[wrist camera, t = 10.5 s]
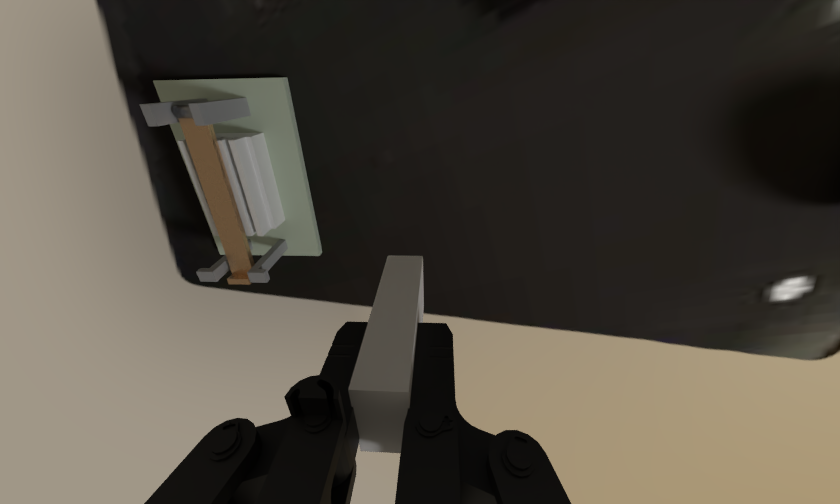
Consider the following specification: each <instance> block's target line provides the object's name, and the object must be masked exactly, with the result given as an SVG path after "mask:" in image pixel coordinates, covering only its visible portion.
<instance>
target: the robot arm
mask: <svg viewBox="0 0 840 504" xmlns="http://www.w3.org/2000/svg"><path fill="white" fill-rule="evenodd" d="M423 309H424V294H423V256H388V257H387V261H386V264H385V267H384V271H383V274H382V277H381V281H380V284H379V287H378V291H377V294H376V298H375V301H374V304H373V308H372V311H371V314H370V318H369V321H368V322H346V323H345V324H344V325H343V326H342V327H341V328H340V329H339V331H338V332H337V333H336V336H335V339H334V341H333V343H332V346H331V348H330V351H329V353H328V357H327V358H326V361H325V363H324V365H323V368H322V371H321V373H320V375H317V376H310V377H307V378H305V379H303V380H300V381H299V382H298V383H296V384H295V385H294V386H293V387H291V389H290V390H289V392H288V393H287V394H286V395H285V400H286V402H287V405H288V408H289V410H290V414H291V416H290V417H288V418H285V419H283V420H280V421H277V422H273V423H269V424H265V425H262V426H258V427H255V425H254V424H253V423H252V422H251V421H249V420H248V419H242V418H236V419H232V420H228V421H225V422H224V423H222V424H220V425H218V426H216V427H215V428H213V429H212V430H211V431H210V432H209V433H208V434H207V435H206V436H204V438H203V439H202V440H201V441H200V442H199V443H198V444H197V445H196V446H195V448H194V449H193V450H192V451H191V452H190V453H189V454H188V455H187V457H186V458H185V459H184V460H183V461H182V462H181V463H180V464H179V465H178V467H177V468H176V469H175V470H174V471H173V472H172V473H171V474H170V476H169V477H168V478H167V479H166V480H165V481H164V483H162V484H161V486H160V487H159V488H158V489H157V490H156V491H155V492H154V493H153V495H152V496H151V497H150V498H149V499H148V500H147V501H146V502H145V503H144V504H350V501H351V496H352V491H353V486H354V482H355V477H356V461H355V457H356V453H357V448H358V444H359V445H360V449H361V451H370V452H390V453H401V456H400V465H399V473H398V482H397V491H396V500H395V504H571V502H570V500H569V499H568V497H567V494H566V492H565V490H564V489H563V486H562V484H561V482H560V480H559V479H558V476H557V475H556V472H555V471H554V469H553V467H552V465H551V463H550V461H549V459H548V457H547V455H546V453H545V451H544V450H543V449H542V447H541V446H540V444H539V443H538V442H537V441H536V440H534V439H533V438H532V437H531V436H529V435H528V434H525V433H523V432H520V431H517V430H505V431H503V432H501V433H499V434H497V435H496V436H495V435H493V434H490V433H488V432H485V431H482V430H480V429H478V428H476V427H474V426H472V425H470V424H469V423H468V422H467V421H466V420H464V418H463V417H462V416H461V414H460V413H459V411H458V409H457V406H456V401H455V383H454V382H455V381H454V356H453V334H452V332H451V331H450V329H449V327H448V326H447V324H446V323H422V322H423Z"/></svg>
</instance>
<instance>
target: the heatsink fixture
mask: <svg viewBox="0 0 840 504" xmlns="http://www.w3.org/2000/svg"><path fill="white" fill-rule="evenodd" d="M153 83H154V85H155V88H156V90H157V93H158V96H159V98H160V101H161V102H159V103H149V104H140V107H141V109H142V112H143V114H144V116H145V119H146V121H147V124H148V126H162V125H167V124H170V126H171V129H172V132H173V134H174V137H175V139H176V142H177V144H178V147H179V150H180V152H181V155H182V157H183V160H184V163H185V165H186V168H187V170H188V173H189V175H190V178H191V181H192V183H193V186H194V188H195V191H196V193H197V196H198V199H199V201H200V204H201V206H202V209H203V211H204V214H205V217H206V219H207V222H208V224H209V227H210V229H211V232H212V235H213V237H214V240H215V242H216V245H217V247H218V250H219V253H220V255H225V256H224V257H222V258H221V259H220V260H219V261H218V262H216V263H215V264H214V265H213V266H212V267H210V268H200V269H199V270H198V271H196V272H197V275H198V277H199V279H200V281H209V282H217V281H218V280H219V279H220V278H221V277H222V276H223V275H225V274H226V273H227V272H228V271H229V270H230V266H229V263H228V260H227V257H226V254H225V251H224V249H223V246H222V243H221V240H220V237H219V234H218V231H217V228H216V226H215V223H214V220H213V217H212V214H211V211H210V208H209V205H208V203H207V200H206V197H205V194H204V191H203V188H202V185H201V182H200V180H199V177H198V174H197V171H196V168H195V165H194V162H193V159H192V157H191V154H190V151H189V148H188V145H187V142H186V139H185V136H184V134H183V131H182V128H181V125H180V122H179V119H177V118H176V117H175V116H174V114H173V106H174V105H189V107H190V110H191V113H192V116H193V119H194V122H195V125H196V126H206V125H210V124H212V125H213V129H214V132H215V135H216V138H217V142H218V145H219V148H220V152H221V155H222V158H223V162H224V165H225V168H226V171H227V175H228V178H229V181H230V185H231V188H232V191H233V194H234V198H235V201H236V204H237V208H238V211H239V214H240V218H241V221H242V224H243V227H244V231H245V234H246V237H247V241H248V244H249V247H250V250H251V254H252V255H264V256H263V257H262V258H261V259H260V260H259V261H258V262H257V263H256V264H255V265H254V266H253V267H252V268H251V269H250V270H249V271H248V272H247V274H248V277H249V280H250V282H260V283H267V282H268V281H269V280H270V278H269V275H268V270H269V269H270V268H271V267H272V266H273V265H274V264H275V262H276V261H277V260H278V259H279V258H280V257H281V256H282V255H292V256H320V255H321V253H322V248H321V243H320V238H319V233H318V228H317V223H316V218H315V213H314V208H313V203H312V199H311V194H310V189H309V184H308V179H307V174H306V169H305V164H304V159H303V154H302V149H301V144H300V139H299V134H298V129H297V124H296V119H295V114H294V109H293V104H292V99H291V94H290V89H289V84H288V79H287V77H286V78H243V79H200V80H157V81H153Z"/></svg>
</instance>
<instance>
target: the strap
mask: <svg viewBox="0 0 840 504" xmlns="http://www.w3.org/2000/svg"><path fill="white" fill-rule="evenodd" d="M173 114H174V116H175V117H176V118H177V119H179V122H180V125H181V128H182V131H183V134H184V136H185V139H186V142H187V145H188V148H189V151H190V154H191V157H192V159H193V162H194V165H195V168H196V171H197V174H198V177H199V180H200V182H201V185H202V188H203V191H204V194H205V197H206V200H207V203H208V205H209V208H210V211H211V214H212V217H213V220H214V223H215V226H216V228H217V231H218V234H219V237H220V240H221V243H222V246H223V249H224V251H225V254H226V257H227V260H228V263H229V266H230V269H231V272H232V275H231V276H230V277H229V278H227V280H228V283H229V284H251V283H252V282H250V280H249V277H248V274H247V272H248V271H249V270H250V269H251V268H252V267H253V266H254V265H255V264H254V260H253V257H252V254H251V250H250V247H249V244H248V241H247V237H246V234H245V231H244V227H243V224H242V221H241V218H240V214H239V211H238V208H237V204H236V201H235V198H234V194H233V191H232V188H231V185H230V181H229V178H228V175H227V171H226V168H225V165H224V162H223V158H222V155H221V152H220V148H219V145H218V142H217V138H216V135H215V132H214V129H213V125H212V124H210V125H206V126H196V125H195V122H194V119H193V116H192V113H191V110H190V107H189V105H174V106H173Z"/></svg>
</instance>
